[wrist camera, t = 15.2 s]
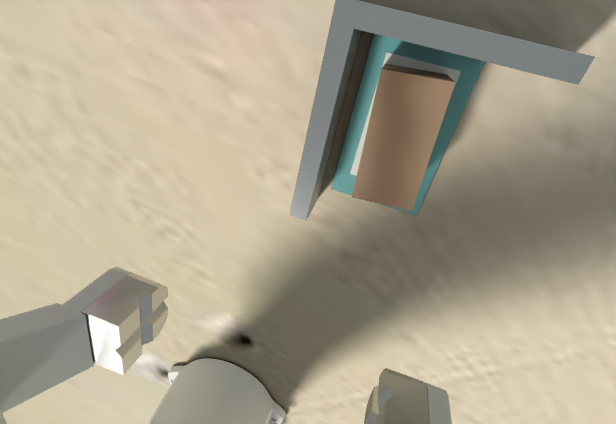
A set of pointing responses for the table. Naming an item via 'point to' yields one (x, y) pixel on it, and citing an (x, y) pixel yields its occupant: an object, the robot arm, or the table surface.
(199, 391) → the robot arm
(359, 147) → the corner bracket
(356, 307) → the table surface
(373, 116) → the walnut block
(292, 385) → the table surface
